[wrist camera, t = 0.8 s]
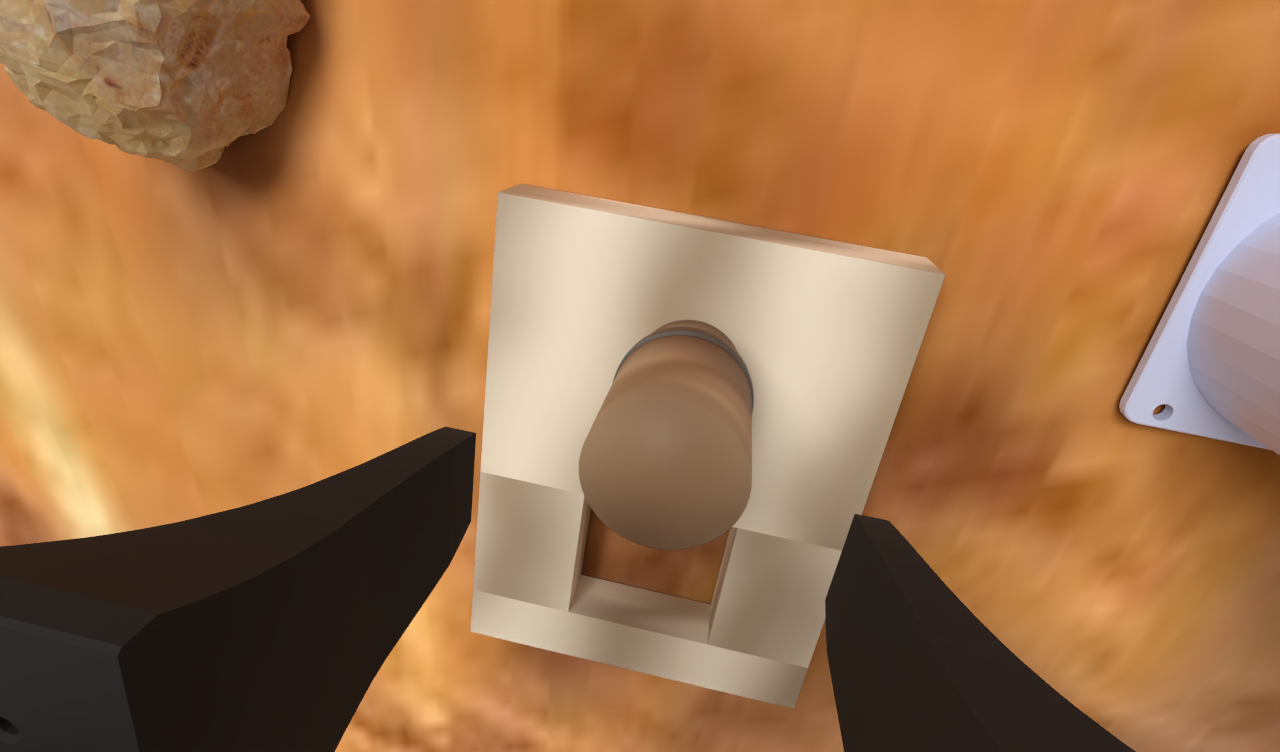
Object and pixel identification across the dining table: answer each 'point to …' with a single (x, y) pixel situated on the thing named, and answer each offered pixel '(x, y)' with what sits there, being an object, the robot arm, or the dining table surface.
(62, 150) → the dining table surface
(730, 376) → the peg
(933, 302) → the board
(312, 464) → the dining table surface
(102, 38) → the stone tool
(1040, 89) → the dining table surface
